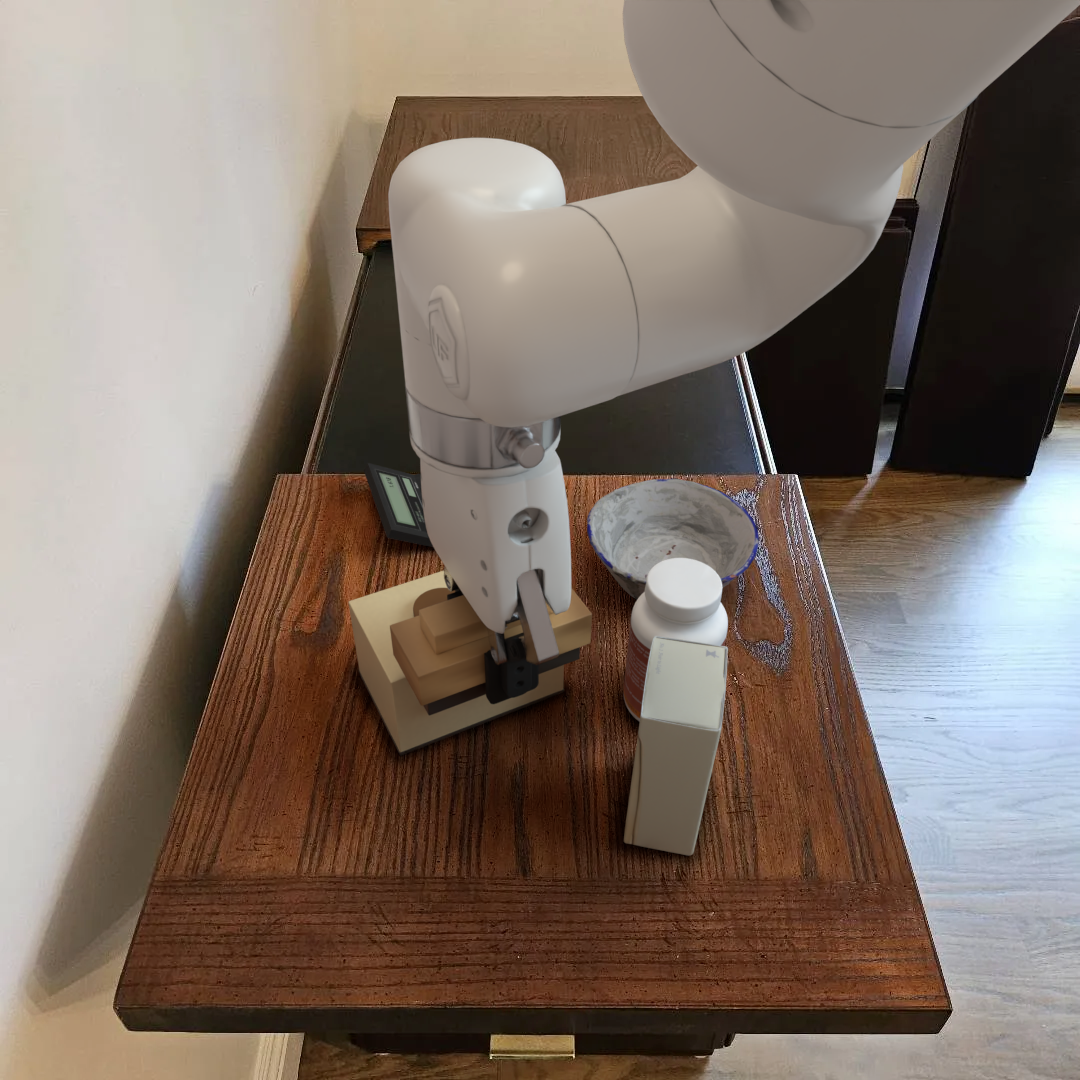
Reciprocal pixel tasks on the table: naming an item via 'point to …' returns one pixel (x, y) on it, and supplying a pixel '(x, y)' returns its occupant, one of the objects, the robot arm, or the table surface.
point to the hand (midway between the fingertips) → (493, 661)
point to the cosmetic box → (676, 743)
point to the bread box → (391, 686)
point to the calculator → (398, 503)
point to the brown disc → (430, 599)
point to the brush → (469, 649)
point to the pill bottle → (672, 617)
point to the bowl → (670, 530)
